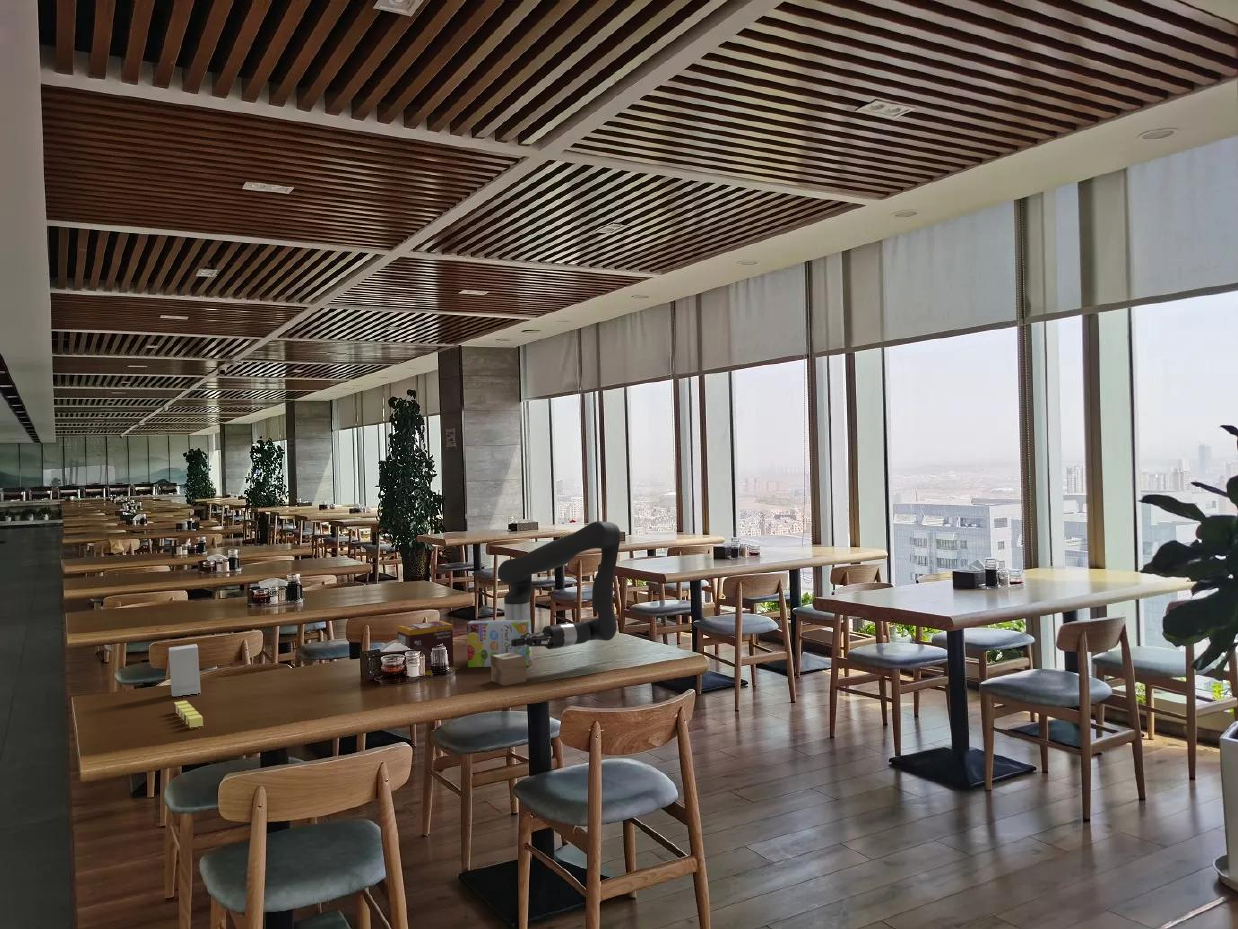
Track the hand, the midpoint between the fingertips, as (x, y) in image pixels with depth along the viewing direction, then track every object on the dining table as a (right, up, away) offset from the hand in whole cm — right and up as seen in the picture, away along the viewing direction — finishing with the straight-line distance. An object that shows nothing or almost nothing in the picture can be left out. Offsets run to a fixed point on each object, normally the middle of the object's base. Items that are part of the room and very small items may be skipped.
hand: (512, 643), depth 290 cm
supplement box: (-30, -13, +15) cm, 36 cm away
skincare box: (-100, -15, -6) cm, 101 cm away
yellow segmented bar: (-86, -15, -37) cm, 95 cm away
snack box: (-7, -12, +22) cm, 26 cm away
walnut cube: (-1, -4, -1) cm, 4 cm away
